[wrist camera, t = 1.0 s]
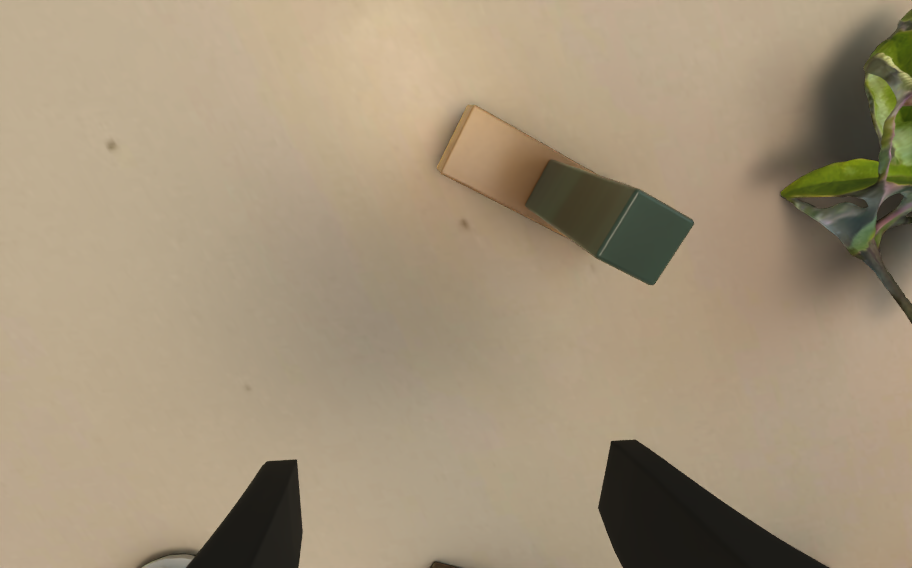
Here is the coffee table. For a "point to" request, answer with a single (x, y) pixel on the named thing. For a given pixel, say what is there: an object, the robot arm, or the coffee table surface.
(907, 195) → the passion flower
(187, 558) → the rook chess piece
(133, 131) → the coffee table surface
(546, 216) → the brush
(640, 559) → the robot arm
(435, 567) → the tray
